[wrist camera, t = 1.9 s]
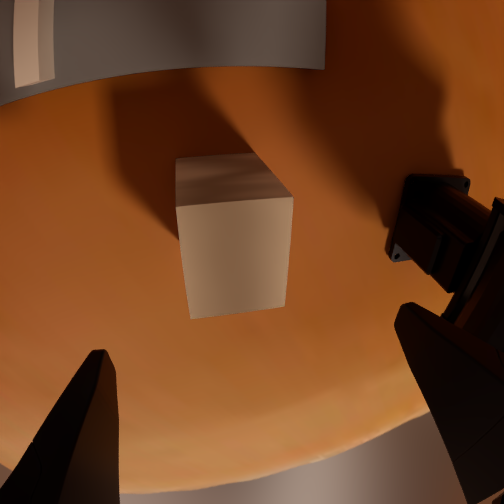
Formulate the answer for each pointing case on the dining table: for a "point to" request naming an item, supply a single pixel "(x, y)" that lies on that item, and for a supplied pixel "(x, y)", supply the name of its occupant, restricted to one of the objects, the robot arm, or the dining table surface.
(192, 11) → the board
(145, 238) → the dining table surface
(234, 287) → the block
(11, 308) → the dining table surface
